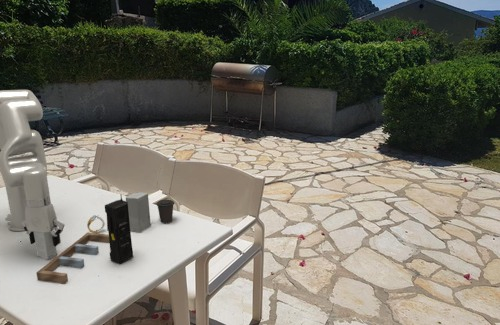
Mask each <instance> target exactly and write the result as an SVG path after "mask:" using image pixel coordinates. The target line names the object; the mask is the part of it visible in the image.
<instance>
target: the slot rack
mask: <svg viewBox="0 0 500 325" xmlns="http://www.w3.org/2000/svg"><path fill="white" fill-rule="evenodd" d="M89 242H96V243H104V244H105V243H106V244H110V242H109V234H105V233H93V232H86V233H84V235H82V237H80V238H79V239H77V240H76V241H75V242H74V243H72V244H71V245H70V246H68V247H67V248H66V249H64V250H63V251H62V252H61V253H59V254H57V255H56V256H55V257H53V258H52V260H50V261H49V262H48V263H47V264H46V265H44V266H43V267H42V268H40V269H39V270H37V271H36V278H37V281H41V282H50V283H51V282H52V283H58V284H64V285H65V284H67V283H68V281H69V279H68V277H69V276H68V273H66V272H57V271H56V269H58V268H59V267H67V268H76V269H83V268H84V267H85V260H84V258H81V257H80V258H79V257H72V256H73V255H75V254H86V255H94V256H97V255H99V253H100V252H99V246H98V245H90V244H88V243H89Z"/></svg>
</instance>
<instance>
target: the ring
mask: <svg viewBox="0 0 500 325" xmlns="http://www.w3.org/2000/svg"><path fill="white" fill-rule="evenodd" d="M95 220H100V221H101V223H102V226H101V227H100V229H96V230H93V229H91V228H90V226H91V224H92V223H93V222H94V221H95ZM105 225H106V223H105V220H104V219H103V218H102V217H100V216H99V215H98V214H97V215H96V214H94V215H93V216H92V217H90V218H89V219H88V221H87V226H86V227H87V229H88V231H89V233H97V234H99V233H100V232H102V230H103V229H104V227H105Z"/></svg>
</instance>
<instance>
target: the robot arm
mask: <svg viewBox="0 0 500 325" xmlns="http://www.w3.org/2000/svg"><path fill="white" fill-rule="evenodd" d="M43 115H44V109H43V107H42V104H41V102H40V101H39V99H38V97H36V95H35V94H34V93H33V91H32V90H29V89H10V90H9V89H7V90H6V89H5V90H4V89H3V90H2V89H1V90H0V174H1V177H2V180H3V183H4V187H5V192H6V195H7V200H8V207H9V208H8V209H9V212H10V214H7V215H6V217H5V219H4V220H5V221H9V224H8V229H9V230H10V231H13V232H24V231H25V232H26V234H27V235H28V236H29V241H30V244H31V245H34V244H35V237H34V232H42V233H49V232H50V233H51V234H52V235H53V237H52V239H53V245H54V246H56V247H57V246H58V245H60V244H61V242H62V240H61V233H62V232H63V231H64V228H65V224H64V223H63V222H61V221H59V220H58V219H57V218H58V217H57V214H56V211H55V207H54V205H53V203H52V200H51V195H50V187H49V181H48V165H47V159H46V154H45V149H44V148H45V147H44V143H43V139H42V138H43V137H42V136H41V134H40V132H39V131H37V130H35V129H31V126H30V124H29V122H31V121H32V122H33V121H34V122H35V121H40V120H41V119H43V117H44V116H43ZM24 153H31V154H28V155H21V156H15V157H9V156H10V155H17V154H24Z"/></svg>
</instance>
